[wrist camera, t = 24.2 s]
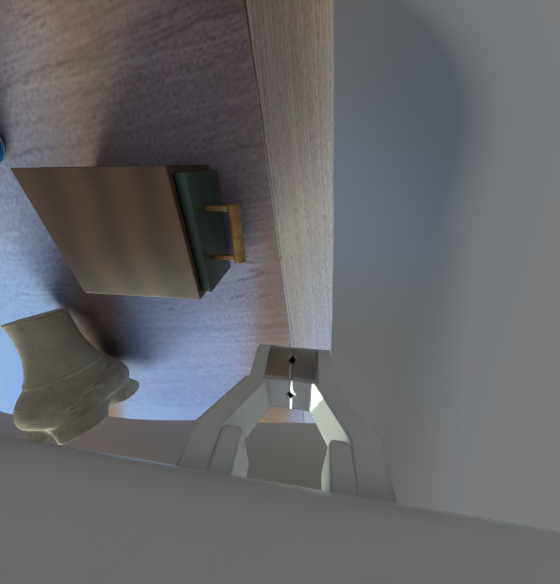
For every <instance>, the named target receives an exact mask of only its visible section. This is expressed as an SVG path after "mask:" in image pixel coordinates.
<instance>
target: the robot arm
mask: <svg viewBox="0 0 560 584" xmlns="http://www.w3.org/2000/svg"><path fill="white" fill-rule="evenodd" d="M269 406H273V407H283V408H292V409H299V410H305V411H311V414H312V416H313V418H314V420H315V422H316V424H317V426H318V428H319V430H320V432H321V434H322V436H323V438H324V440H325V442H326V444H327V446H328V449H327V453H326V458H325V462H324V466H323V470H322V475H321V479H322V490H317V489H311V488H306V487H300V486H294V485H288V484H282V483H276V482H271V481H265V480H259V479H253V478H247V477H246V475H247V470H248V465H249V461H248V457H247V452H246V448H245V443H244V440H245V439H246V437H247V436H248V435H249V433H250V432H251V431H252V430H253V428H254V427H255V426H256V424H257V423H258V422H259V420H260V419H261V418H262V417H263V415H264V414H265V413H266V411H267V410H268V409H269ZM0 584H560V531H557V530H551V529H545V528H540V527H534V526H528V525H521V524H516V523H510V522H505V521H499V520H493V519H487V518H480V517H475V516H469V515H464V514H458V513H452V512H445V511H440V510H434V509H428V508H423V507H417V506H411V505H405V504H399V503H397V501H396V497H395V493H394V489H393V485H392V481H391V477H390V473H389V469H388V465H387V461H386V457H385V453H384V449H383V445H382V444H381V443H380V442H379V440H378V439H377V437H376V436H375V435H374V434H373V432H372V431H371V430H370V429H369V427H368V426H367V424H366V423H365V422H364V421H363V419H362V418H361V416H360V415H359V414H358V413H357V411H356V410H355V409H354V408H353V406H352V405H351V403H350V402H349V401H348V399H347V398H346V397H345V396H344V394H343V393H342V392H341V390H340V389H339V388H338V386H335V385H333V378H332V367H331V356H330V351H329V350H318V349H306V348H291V347H283V346H274V345H264V344H260V345H259V347H258V350H257V353H256V356H255V360H254V363H253V366H252V370H251V373H250V376H245V377H244V378H243V379H242V380H241V381H240V382H238V383H237V384H236V385H235V386H234V387H233V388H232V389H231V390H229V391H228V392H227V393H226V394H225V395H224V396H223V397H222V398H220V399H219V400H218V401H217V402H216V403H215V404H214V405H213V406H211V407H210V408H209V409H208V410H207V411H206V412H205V413H203V414H202V415H201V416H200V417H199V418H198V419H197V421H196V423H195V425H194V427H193V429H192V432H191V434H190V436H189V438H188V440H187V442H186V445H185V447H184V449H183V451H182V453H181V456H180V458H179V460H178V462H177V464H176V465H171V464H165V463H159V462H153V461H148V460H142V459H136V458H130V457H124V456H118V455H112V454H107V453H101V452H95V451H89V450H83V449H77V448H71V447H66V446H60V445H54V444H48V443H42V442H36V441H30V440H25V439H19V438H13V437H7V436H1V435H0Z"/></svg>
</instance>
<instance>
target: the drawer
mask: <svg viewBox="0 0 560 584" xmlns="http://www.w3.org/2000/svg"><path fill="white" fill-rule="evenodd" d="M173 174H174V177H173V179H174V183H175V187H176V191H178V194H179V198H180V202H181V206H182V210H183V215H184V219H185V223H186V227H187V231H188V235H189V239H190V243H191V247H192V251H193V255H194V259H195V262H194V263H195V267H196V271H197V275H198V279H200V284H201V288H202V291H203V292H212V290H213V289H214V288H215V286H216V285H217V284H218V283H219V281H220V280H221V279H222V277H223V276H224V275H225V273H226V272H227V271H228V270H229V268H230V260H235V262H236V263H243V262H245V261H246V258H245V248H244V239H243V230H242V221H241V211H240V204H239V203H229V204H227V205H221V201H220V194H219V188H218V181H217V175H216V170H205V171H189V172H174V173H173ZM222 211H228V214H229V222H230V229H231V236H232V243H233V251H234V255H232V254H228V247H227V240H226V234H225V227H224V221H223V214H222Z"/></svg>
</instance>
